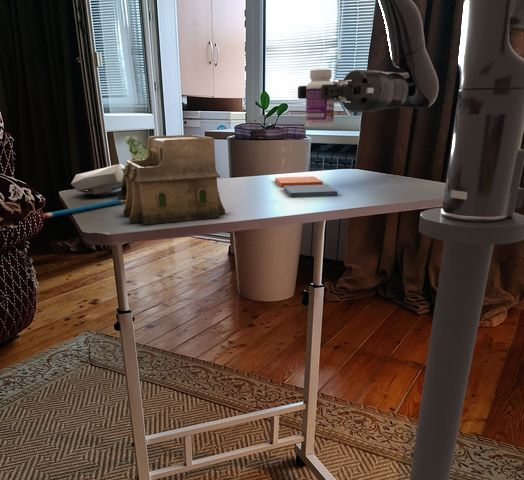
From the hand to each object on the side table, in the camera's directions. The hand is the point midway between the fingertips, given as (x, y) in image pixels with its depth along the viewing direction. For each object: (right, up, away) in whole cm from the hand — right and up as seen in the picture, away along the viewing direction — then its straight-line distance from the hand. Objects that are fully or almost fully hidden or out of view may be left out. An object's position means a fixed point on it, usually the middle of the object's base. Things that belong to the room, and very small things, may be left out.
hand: (310, 92), depth 93 cm
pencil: (-39, -23, -7) cm, 46 cm away
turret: (-39, -15, +11) cm, 44 cm away
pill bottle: (+2, -5, +4) cm, 7 cm away
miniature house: (-24, -26, -11) cm, 37 cm away
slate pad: (0, -17, +6) cm, 18 cm away
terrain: (-30, -15, -1) cm, 34 cm away
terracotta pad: (-1, -11, +17) cm, 21 cm away
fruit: (-32, -19, +2) cm, 37 cm away
